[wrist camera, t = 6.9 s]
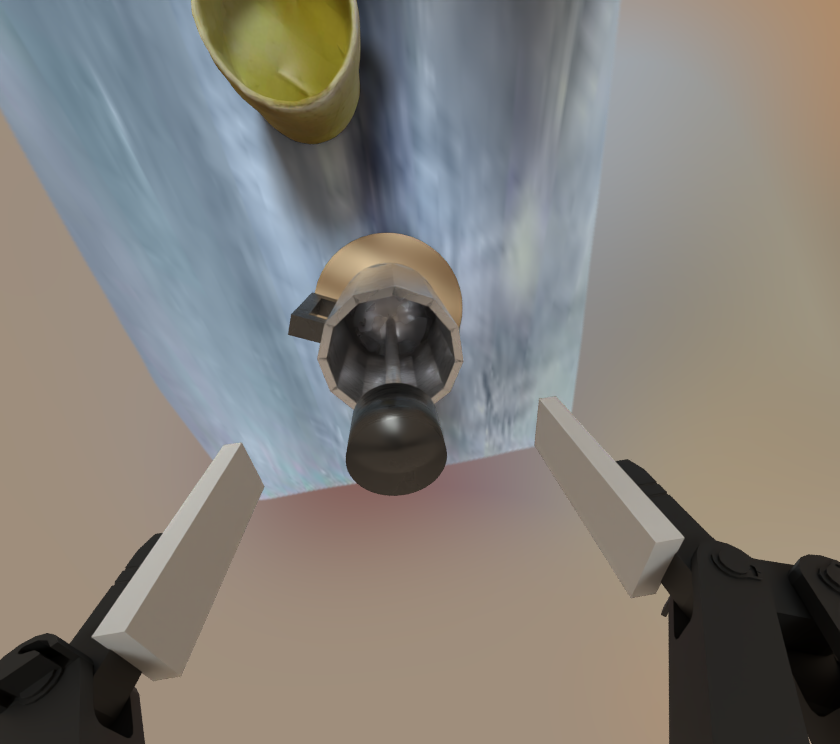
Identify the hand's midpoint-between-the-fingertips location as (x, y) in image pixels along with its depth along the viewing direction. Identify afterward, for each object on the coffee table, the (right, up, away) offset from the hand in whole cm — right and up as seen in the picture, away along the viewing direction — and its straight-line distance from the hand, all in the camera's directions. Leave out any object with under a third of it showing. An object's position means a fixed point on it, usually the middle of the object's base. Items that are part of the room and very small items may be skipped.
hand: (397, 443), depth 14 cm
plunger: (-2, +8, +17) cm, 19 cm away
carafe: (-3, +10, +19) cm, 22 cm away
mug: (-7, +28, +10) cm, 31 cm away
